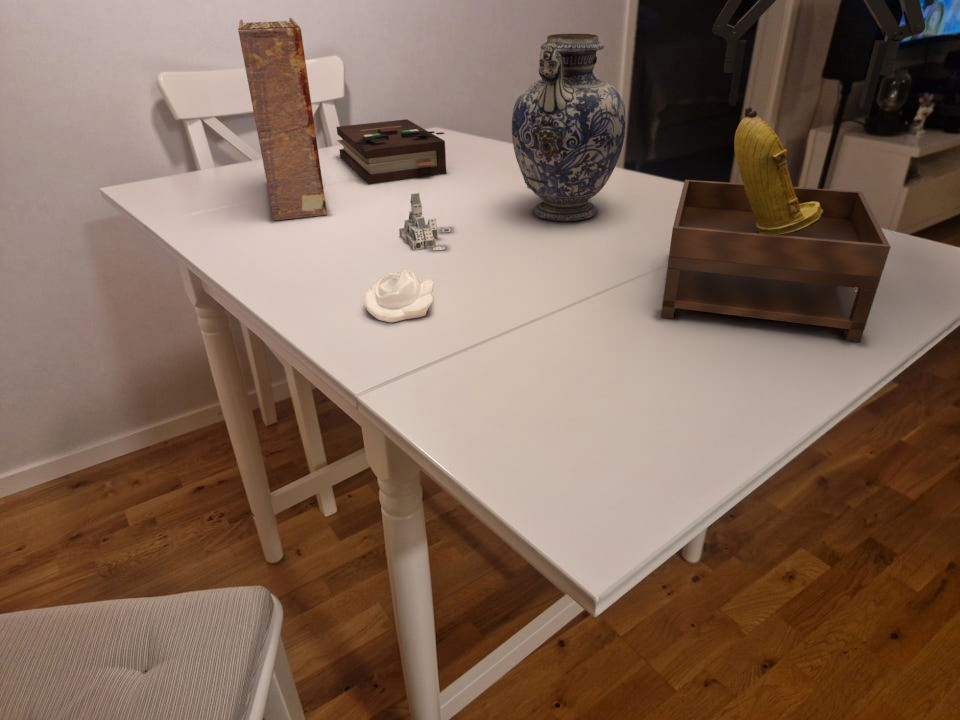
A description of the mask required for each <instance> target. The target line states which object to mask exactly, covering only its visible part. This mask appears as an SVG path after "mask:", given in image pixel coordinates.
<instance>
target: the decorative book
mask: <svg viewBox="0 0 960 720" xmlns="http://www.w3.org/2000/svg"><path fill="white" fill-rule="evenodd" d="M336 134H337V136H339V138H341V139H337V140H336V142H337V143H339V144H340V145H341V146H342V147H343V148H340V149H338V150H339V157H340V158H341V159H342V160H343V161H344V162H345V163H346V164H347V165H348V166H349V167H350V168H351V169H352V170H353V171H354V172H355V173H356V174H357V175H358V176H359V177H360V178H361V179H363V180H364V181H365V182H366V184H368V185H375V184H382V183H383V184H384V183H389V182H397V181H403V180H411V179H412V180H413V179H419V178H426V177H432V176H440V175H446V174H447V157H446V140H445V139H443V138H440V137H439V136H437V135H446V133H445V132H442V131H441V132H435V131H428V130H427V129H425V128H423V127H421V126H419V125H418V124H417V123H414V122H413V121H411V120H409V119H407V118H406V119H405V118H404V119H398V120H397V119H396V120H386V121H377V122H368V123H359V124H358V123H357V124H350V125H349V124H348V125H340V126H339V125H338V126H336ZM435 134H436V135H435Z"/></svg>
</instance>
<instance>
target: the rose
mask: <svg viewBox="0 0 960 720" xmlns="http://www.w3.org/2000/svg"><path fill="white" fill-rule="evenodd" d="M433 291H434V282H433V279H432V278H428V279H427V278H426V279H425V280H424V281H422V282H421V281H420V279H419V278H418V276H417V275H416V273H414V272H413V271H411V270H408V269H402V270H399V272H397V273H396V272H390V273H386V274H385V275H384V276H382V277H381V278H380V279H378V281H376V282H375V283H374V284H373V285H372V286H371V288H370V289H369V290H367V291H365V292H364V297H363V298H364V306H365V309H366V310H367V312H368V313H369V314H371V316H373V317H374V318H375V319H377V320H379V321H382V322H386V323H396V322H400V321H404V320H405V321H406V320H411V319H416V318H422V317H425V316H426V315H427V311H428V310H429V308H430V306H432V304H433V301H434V296H433Z"/></svg>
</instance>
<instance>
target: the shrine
mask: <svg viewBox="0 0 960 720" xmlns="http://www.w3.org/2000/svg"><path fill="white" fill-rule="evenodd" d="M733 144H734V145H733V149H734V154H735V158H736V163H737V166H738V170H739V171H738V172H739V174H740V177H741V181H742V184H744V188H745V191H746V194H747V197H748V200H749V202H750V205H751V209H752V211H753V214H754V217H755V220H756V222H757V223H756V227H757V228H758V229H759V230H758V232H757V233H761V234H772V235H784V236H786V235H789V234H792V233H796V232H799V231H801V230H803V229H805V228H807V227H809V226H811V225H813V224H815V223H817V222H818V221H819V220H820V217H821V215H822V214H823V209H821V207H820V203H819V202H815V201H812V202H806V203H802V204H799V202H798V199H797V197H796V196H795V191H794V188H793V187H794V185H793V181H792V179H791V175H790V172H789V168H788V163H787V162H788V160H787V159H786V158H787V157H788V149H785V148H784V144H783V143H782V142H781V141H780V137H779V136H778V135H777V133H776V132H775V131H774V129H773V128H772V127H771V126H770V124H769V123H767V121H765V120H763V119H762V118H761V117H760V116H758V112H757V111H756V110H753V109H752V107H750V106H747V107H746V108H745V109H744V118H742V120H741V121H740V122H739V124H738V126H737V128H736V130H735V133H734V143H733Z"/></svg>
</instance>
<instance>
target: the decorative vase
mask: <svg viewBox="0 0 960 720" xmlns="http://www.w3.org/2000/svg"><path fill="white" fill-rule="evenodd" d="M604 48H605V46H604V44H603V43H602V42H600V41H599V35H597V34H591V33H556V34H550V35H547V37H546V42H543V43H542V44H541V45H540V53H539V61H538V62H539V63H538V75H539V77H540V78H541V79H539V80H537V81H534V82H532V83H531V84H530V85H529V86H528V87H527V88H525V89H524V90H522V91H521V93H520V94H519V95H518V97H517V99H516V101H515V103H514V106H513V108H512V109H513V110H512V115H511V138H512V146H513V151H514V156H515V159H516V162H517V165H518V168H519V170H520V173H521V175H522V178H523V180H524V184H526V188H527V189H528V190H531V191H532V192H533V194H535V195H536V196H537V197H539V198H540V199H541V200H542V201H540V202H539V203H537V204H536V206H535V208H534V213H535V215H536V216H537V217H539V218H540V219H543V220H546V221H550V222H551V221H552V222H563V223H564V222H578V221H583V220H587V219H590V218H592V217H594V215H595V214H596V206H595V205H594V204H593V203H592V202H590V200H591V199H592V198H593V197H595V196H596V195H597V194H598V193H600V191H601V190H602V189H604V187H605V185H606V184H607V182H608V181H609V179H610V178H611V176H612V174H613V172H614V170H615V169H616V166H617V163H618V161H619V158H620V157H621V153H622V150H623V146H624V141H625V135H626V126H627V116H626V114H627V113H626V105H625V102H624V99H623V97H622V95H621V94H620V92H619V90H618V89H617V88H615V86H613V85H612V84H610V83H608V82H606V81H603V80H602V79H599V78H597V77H596V76H595V74H594V69H595V65H596V64H597V61H598V56H597V51H601V50H604Z"/></svg>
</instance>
